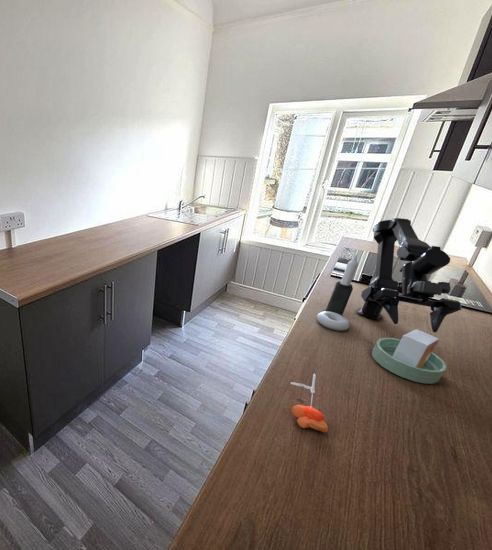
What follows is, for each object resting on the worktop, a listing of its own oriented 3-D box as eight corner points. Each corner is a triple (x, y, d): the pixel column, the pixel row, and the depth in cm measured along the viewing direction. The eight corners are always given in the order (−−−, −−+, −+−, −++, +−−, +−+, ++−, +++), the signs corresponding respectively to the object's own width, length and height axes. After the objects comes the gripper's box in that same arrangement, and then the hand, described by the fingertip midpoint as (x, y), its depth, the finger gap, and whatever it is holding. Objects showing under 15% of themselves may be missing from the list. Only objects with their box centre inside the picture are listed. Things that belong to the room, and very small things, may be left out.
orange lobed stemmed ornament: (288, 400, 73) (302, 362, 69) (331, 427, 67) (349, 387, 62) (277, 412, 70) (290, 373, 65) (320, 442, 63) (339, 400, 58)
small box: (411, 376, 83) (428, 345, 79) (387, 363, 88) (403, 334, 84) (423, 368, 87) (440, 338, 83) (400, 356, 91) (415, 328, 87)
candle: (340, 320, 111) (366, 257, 101) (325, 315, 113) (348, 254, 103) (340, 314, 115) (364, 254, 105) (325, 310, 117) (347, 251, 107)
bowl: (379, 343, 98) (385, 332, 96) (443, 370, 87) (450, 358, 85) (364, 360, 89) (370, 348, 88) (433, 393, 78) (441, 380, 77)
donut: (315, 315, 114) (316, 326, 106) (317, 307, 112) (319, 318, 104) (345, 322, 110) (349, 335, 101) (349, 314, 108) (353, 327, 100)
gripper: (392, 263, 88) (392, 312, 83) (475, 275, 82) (479, 329, 77) (373, 278, 98) (371, 322, 93) (445, 290, 92) (448, 338, 86)
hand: (415, 327), depth 87 cm, fingers open, 9 cm apart
